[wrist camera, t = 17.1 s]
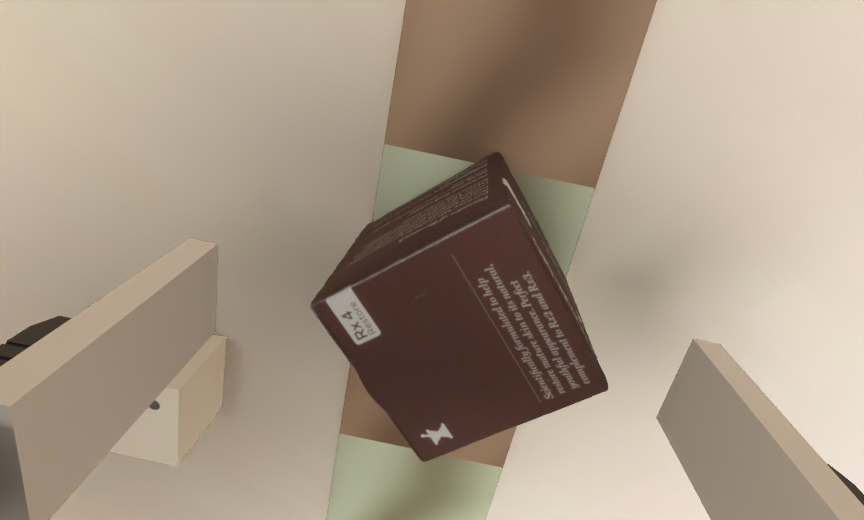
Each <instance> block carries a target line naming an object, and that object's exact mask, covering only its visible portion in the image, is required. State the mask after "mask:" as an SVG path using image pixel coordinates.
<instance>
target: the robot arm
mask: <svg viewBox="0 0 864 520" xmlns="http://www.w3.org/2000/svg"><path fill="white" fill-rule="evenodd" d="M217 261H218V244H216V243H211V242H206V241H201V240H196V239H191V238H189V239H188V240H186V241H185V242H183V243H182V244H180V245H179V246H177V247H176V248H174V249H173V250H171V251H170V252H169V253H167V254H166V255H164V256H163V257H161V258H160V259H158V260H157V261H155V262H154V263H152V264H151V265H149V266H148V267H146V268H145V269H143V270H142V271H141V272H139V273H138V274H136V275H135V276H133V277H132V278H130V279H129V280H127V281H126V282H124V283H123V284H121V285H120V286H118V287H117V288H115V289H114V290H113V291H111V292H110V293H108V294H107V295H105V296H104V297H102V298H101V299H99V300H98V301H96V302H95V303H93V304H92V305H90V306H89V307H87V308H86V309H85V310H83V311H82V312H80V313H79V314H77V315H76V316H74V317H73V318H67V317H62V316H58V317H55V318H52V319H49V320H47V321H44V322H41V323H38V324H35V325H33V326H30V327H28V328H27V329H25V330H23V331H22V332H20V333H19V334H17V335H16V336H14V337H12V338H11V339H9V340H8V341H7V343H6V344H1V345H0V520H49V519H50V518H51V516H52V515H53V514H54V513H55V512H56V511H57V510H58V508H59V507H60V506H61V505H62V504H63V503H64V502H65V501H66V499H67V498H68V497H69V496H70V495H71V494H72V493H73V492H74V490H75V489H76V488H77V487H78V486H79V485H80V484H81V483H82V481H83V480H84V479H85V478H86V477H87V476H88V475H89V474H90V472H91V471H92V470H93V469H94V468H95V467H96V466H97V465H98V463H99V462H100V461H101V460H102V459H103V458H104V457H105V455H106V454H107V453H108V452H109V451H110V450H111V449H112V448H113V446H114V445H115V444H116V443H117V442H118V441H119V440H120V439H121V437H122V436H123V435H124V434H125V433H126V432H127V431H128V430H129V428H130V427H131V426H132V425H133V424H134V423H135V422H136V421H137V419H138V418H139V417H140V416H141V415H142V414H143V413H144V412H145V410H146V409H147V408H148V407H149V406H150V405H151V404H152V402H153V401H154V400H155V399H156V398H157V397H158V396H159V395H160V393H161V392H162V391H163V390H164V389H165V388H166V387H167V386H168V384H169V383H170V382H171V381H172V380H173V379H174V378H175V377H176V375H177V374H178V373H179V372H180V371H181V370H182V369H183V368H184V366H185V365H186V364H187V363H188V362H189V361H190V360H191V358H192V357H193V356H194V355H195V354H196V353H197V352H198V351H199V349H200V348H201V347H202V346H203V345H204V344H205V343H206V342H207V340H208V339H209V338H210V337H211V336H212V335H213V334H214V333H215V331H216V300H217ZM656 418H657V419H658V421H659V423H660V425H661V427H662V429H663V431H664V433H665V434H666V436H667V438H668V440H669V442H670V444H671V446H672V448H673V449H674V451H675V453H676V455H677V457H678V459H679V461H680V463H681V464H682V466H683V468H684V470H685V472H686V474H687V476H688V478H689V479H690V481H691V483H692V485H693V487H694V489H695V491H696V493H697V494H698V496H699V498H700V500H701V502H702V504H703V506H704V508H705V509H706V511H707V513H708V515H709V517H710V519H711V520H864V495H863V493H862V492H861V491H860V490H859V489H858V488H857V487H856V486H855V485H854V484H853V483H852V482H850V481H849V480H848V479H847V478H845V477H844V476H843V475H842V474H840V473H839V472H838V471H836V470H835V469H834V468H833V467H831V466H830V465H829V464H826V463H825V462H824V460H823V459H822V458H821V457H820V456H819V455H818V454H817V453H816V451H815V450H814V449H813V448H812V447H811V446H810V445H809V444H808V442H807V441H806V440H805V439H804V438H803V437H802V436H801V435H800V433H799V432H798V431H797V430H796V429H795V428H794V427H793V425H792V424H791V423H790V422H789V421H788V420H787V419H786V418H785V416H784V415H783V414H782V413H781V412H780V411H779V410H778V409H777V407H776V406H775V405H774V404H773V403H772V402H771V401H770V400H769V398H768V397H767V396H766V395H765V394H764V393H763V392H762V391H761V389H760V388H759V387H758V386H757V385H756V384H755V383H754V382H753V380H752V379H751V378H750V377H749V376H748V375H747V374H746V373H745V371H744V370H743V369H742V368H741V367H740V366H739V365H738V364H737V362H736V361H735V360H734V359H733V358H732V357H731V356H730V355H729V353H728V352H727V351H726V350H725V349H724V348H723V347H722V346H721V344H717V343H712V342H707V341H702V340H697V339H693V340H692V342H691V344H690V347H689V349H688V351H687V353H686V355H685V357H684V359H683V362H682V364H681V366H680V368H679V370H678V372H677V374H676V377H675V379H674V381H673V383H672V385H671V387H670V389H669V392H668V394H667V396H666V398H665V400H664V402H663V404H662V407H661V409H660V411H659V413H658V415H657V417H656Z"/></svg>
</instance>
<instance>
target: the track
mask: <svg viewBox="0 0 864 520" xmlns="http://www.w3.org/2000/svg"><path fill="white" fill-rule="evenodd" d="M656 2H657V0H406V6H405V12H404V19H403V25H402V32H401V38H400V45H399V51H398V58H397V64H396V71H395V77H394V84H393V90H392V97H391V103H390V110H389V116H388V123H387V129H386V136H385V142H384V149H383V155H382V162H381V168H380V175H379V181H378V188H377V194H376V201H375V207H374V214H373V220H372V222H373V221H374V220H376V219H378V218H380V217H381V216H383V215H385V214H386V213H388V212H390V211H393V210H395V209H396V208H397V207H399V206H401V205H403V204H405V203H407V202H408V201H410V200H412V199H414V198H416V197H418V196H419V195H421V194H423V193H425V192H426V191H428V190H430V189H432V188H433V187H435V186H437V185H439V184H440V183H442V182H444V181H446V180H447V179H449V178H451V177H453V176H454V175H456V174H458V173H460V172H461V171H463V170H465V169H467V168H468V167H470V166H471V165H473V164H475V163H477V162H479V161H481V160H482V159H484V158H486V157H488V156H490V155H491V154H493V153H496V152H499V153H500V154H502V156H503V157H504V160H505V162H506V164H507V165H508V167H509V170H510V172H511V174H512V176H513V177H514V179H515V181H516V183H517V184H518V186H519V188H520V190H521V192H522V194H523V196H524V197H525V199H526V201H527V203H528V205H529V207H530V209H531V211H532V213H533V215H534V217H535V218H536V220H537V221H538V223H539V225H540V228H541V230H542V232H543V233H544V236H545V238H546V240H547V241H548V244H549V246H550V248H551V250H552V252H553V254H554V256H555V258H556V259H557V261H558V264H559V266H560V267H561V270H562V271H563V273H564V275H565V278H566V275H567V272H568V268H569V265H570V262H571V259H572V256H573V253H574V250H575V247H576V244H577V241H578V238H579V235H580V232H581V229H582V226H583V223H584V220H585V217H586V214H587V211H588V208H589V205H590V202H591V199H592V196H593V193H594V190H595V187H596V184H597V181H598V178H599V175H600V172H601V169H602V166H603V163H604V159H605V156H606V153H607V150H608V147H609V144H610V141H611V138H612V135H613V132H614V129H615V126H616V123H617V120H618V117H619V114H620V111H621V108H622V105H623V102H624V99H625V96H626V93H627V90H628V87H629V84H630V81H631V78H632V75H633V72H634V69H635V66H636V63H637V60H638V57H639V53H640V50H641V47H642V44H643V41H644V38H645V35H646V32H647V29H648V26H649V23H650V20H651V17H652V14H653V11H654V8H655V5H656ZM515 429H516V426H515V427H512V428H510V429H507V430H505V431H503V432H499V433H497V434H494V435H492V436H489V437H487V438H484V439H482V440H479V441H477V442H474V443H472V444H469V445H467V446H465V447H462V448H460V449H457V450H455V451H452V452H450V453H447V454H445V455H443V456H440V457H437V458H435V459H432V460H429V461H427V462H423V461H421V460H420V459H419V458H418V456H417V455H416V454H415V452H414V451H413V450H412V448H411V447H410V445H409V444H408V443H407V441H406V440H405V438H404V437H403V435H402V434H401V433H400V431H399V430H398V428H397V427H396V425H395V424H394V423H393V421H392V420H391V418H390V417H389V416H388V414H387V413H386V411H385V410H383V409H382V408H381V407H380V406H379V405H378V404H377V403H376V402H375V401H374V400H373V398H372V397H371V396H370V395H369V394H368V392H367V391H366V389H365V388H364V386H363V384H362V382H361V381H360V379H359V376H358V374H357V372H356V370H355V368H354V367H353V366H352V364H351V363H350V369H349V376H348V382H347V389H346V395H345V402H344V408H343V415H342V421H341V428H340V434H339V441H338V447H337V454H336V460H335V467H334V473H333V480H332V486H331V493H330V499H329V506H328V512H327V519H326V520H486V517H487V514H488V511H489V508H490V505H491V502H492V499H493V496H494V493H495V490H496V486H497V483H498V480H499V477H500V474H501V471H502V468H503V465H504V462H505V459H506V456H507V453H508V450H509V447H510V444H511V441H512V438H513V435H514V432H515Z"/></svg>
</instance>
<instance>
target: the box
mask: <svg viewBox="0 0 864 520" xmlns="http://www.w3.org/2000/svg"><path fill="white" fill-rule="evenodd" d="M311 309H312V311H313V312H314V314H315V315H316V316H317V318H318V319H319V320H320V322H321V323H322V325H323V326H324V327H325V329H326V330H327V332H328V333H329V335H330V336H331V337H332V338H333V340H334V341H335V342H336V344H337V345H338V347H339V348H340V349H341V350H342V352H343V353H344V354H345V356H346V357H347V359H348V360H349V362H350V363H351V364H352V366H353V367H354V368H355V370H356V372H357V374H358V376H359V379H360V381H361V382H362V384H363V386H364V388H365V389H366V391H367V392H368V394H369V395H370V396H371V397H372V398H373V400H374V401H375V402H376V403H377V404H378V405H379V406H380V407H381V408H382V409H383V410H385V411H386V413H387V414H388V416H389V417H390V418H391V420H392V421H393V423H394V424H395V425H396V427H397V428H398V430H399V431H400V433H401V434H402V435H403V437H404V438H405V440H406V441H407V443H408V444H409V445H410V447H411V448H412V450H413V451H414V452H415V454H416V455H417V456H418V458H419V459H420V460H421V461H423V462H427V461H429V460H432V459H435V458H437V457H440V456H443V455H445V454H447V453H450V452H452V451H455V450H457V449H460V448H462V447H465V446H467V445H469V444H472V443H474V442H477V441H479V440H482V439H484V438H487V437H489V436H492V435H494V434H497V433H499V432H503V431H505V430H507V429H510V428H512V427H515V426H518V425H520V424H523V423H525V422H528V421H531V420H533V419H536V418H538V417H541V416H543V415H546V414H549V413H552V412H554V411H557V410H559V409H562V408H564V407H567V406H569V405H572V404H574V403H577V402H580V401H582V400H584V399H587V398H590V397H592V396H594V395H597V394H599V393H602V392H605V391H607V390H608V383H607V380H606V377H605V374H604V373H603V371H602V369H601V367H600V365H599V363H598V360H597V357H596V355H595V353H594V350H593V348H592V345H591V343H590V340H589V337H588V335H587V333H586V330H585V328H584V324H583V322H582V319H581V317H580V314H579V311H578V309H577V306H576V303H575V301H574V298H573V296H572V293H571V291H570V289H569V286H568V283H567V280H566V278H565V275H564V273H563V271H562V270H561V267H560V266H559V264H558V261H557V259H556V258H555V256H554V254H553V252H552V250H551V248H550V246H549V244H548V241H547V240H546V238H545V236H544V233H543V232H542V230H541V228H540V225H539V223H538V221H537V220H536V218H535V217H534V215H533V213H532V211H531V209H530V207H529V205H528V203H527V201H526V199H525V197H524V196H523V194H522V192H521V190H520V188H519V186H518V184H517V183H516V181H515V179H514V177H513V176H512V174H511V172H510V170H509V167H508V165H507V164H506V162H505V160H504V157H503V156H502V154H500V153H499V152H496V153H493V154H491V155H490V156H488V157H486V158H484V159H482V160H481V161H479V162H477V163H475V164H473V165H471V166H470V167H468V168H467V169H465V170H463V171H461V172H460V173H458V174H456V175H454V176H453V177H451V178H449V179H447V180H446V181H444V182H442V183H440V184H439V185H437V186H435V187H433V188H432V189H430V190H428V191H426V192H425V193H423V194H421V195H419V196H418V197H416V198H414V199H412V200H410V201H408V202H407V203H405V204H403V205H401V206H399V207H397V208H396V209H395V210H393V211H390V212H388V213H386V214H385V215H383V216H381V217H380V218H378V219H376V220H374V221H373V222H372V223H370V224H368V225H367V226H366V227H365V228H364V229H363V231H362V232H361V233H360V235H359V237H358V238H357V239H356V241H355V242H354V244H353V245H352V246H351V248H350V249H349V251H348V252H347V254H346V255H345V257H344V258H343V260H342V261H341V262H340V264H339V265H338V266H337V268H336V269H335V271H334V272H333V274H332V275H331V276H330V277H329V278H328V280H327V281H326V283H325V285H324V287H323V288H322V289H321V290H320V291H319V293H318V294H317V295H316V297H315V298H314V300H313V301H312V302H311Z"/></svg>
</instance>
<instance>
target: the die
mask: <svg viewBox="0 0 864 520" xmlns="http://www.w3.org/2000/svg"><path fill="white" fill-rule="evenodd" d="M225 352H226V337H223V336H219V335H214V334H213V335H212V336H211V337H210V338H209V339H208V340H207V342H206V343H205V344H204V345H203V346H202V347H201V348H200V349H199V351H198V352H197V353H196V354H195V355H194V356H193V357H192V358H191V360H190V361H189V362H188V363H187V364H186V365H185V366H184V368H183V369H182V370H181V371H180V372H179V373H178V374H177V375H176V377H175V378H174V379H173V380H172V381H171V382H170V383H169V384H168V386H167V387H166V388H165V389H164V390H163V391H162V392H161V393H160V395H159V396H158V397H157V398H156V399H155V400H154V401H153V402H152V404H151V405H150V406H149V407H148V408H147V409H146V410H145V412H144V413H143V414H142V415H141V416H140V417H139V418H138V419H137V421H136V422H135V423H134V424H133V425H132V426H131V427H130V428H129V430H128V431H127V432H126V433H125V434H124V435H123V436H122V437H121V439H120V440H119V441H118V442H117V443H116V444H115V445H114V446H113V448H112V449H111V450H110V451H109V452H113V453H117V454H122V455H126V456H131V457H135V458H139V459H144V460H148V461H152V462H157V463H161V464H165V465H170V466H174V467H178V466H179V465H180V463H181V462H182V460H183V459H184V458H185V456H186V455H187V454H188V452H189V451H190V450H191V448H192V447H193V445H194V444H195V443H196V441H197V440H198V439H199V437H200V436H201V434H202V433H203V432H204V430H205V429H206V428H207V426H208V425H209V423H210V422H211V421H212V419H213V418H214V417H215V415H216V414H217V412H218V411H219V410H220V408H221V407H222V401H223V385H224V368H225Z"/></svg>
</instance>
